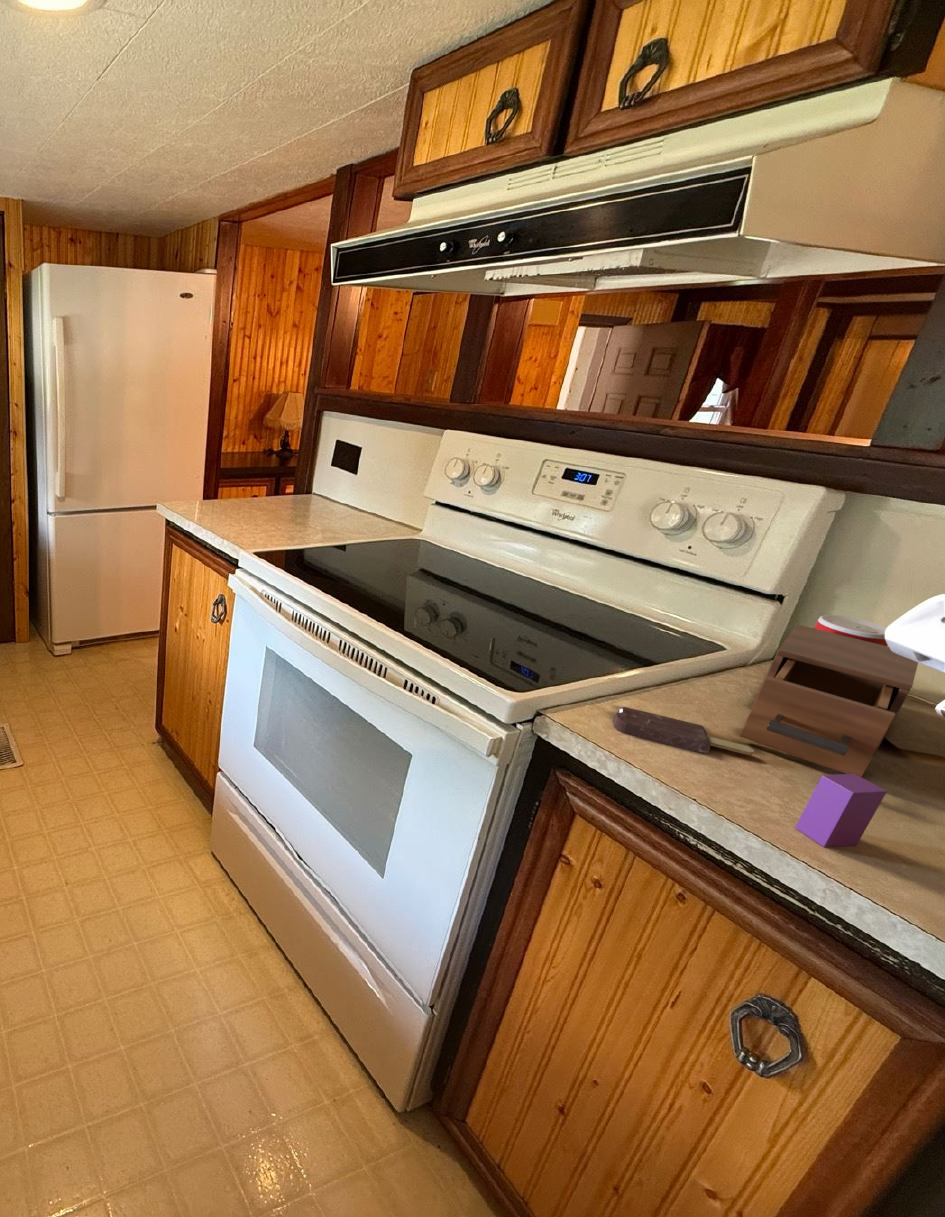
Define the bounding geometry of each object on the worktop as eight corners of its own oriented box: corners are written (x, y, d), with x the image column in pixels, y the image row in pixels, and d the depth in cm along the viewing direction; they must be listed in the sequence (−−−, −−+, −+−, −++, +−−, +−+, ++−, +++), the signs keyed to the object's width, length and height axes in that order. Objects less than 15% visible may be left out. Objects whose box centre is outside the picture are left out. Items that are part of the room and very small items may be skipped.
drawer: (855, 793, 76) (891, 728, 73) (731, 748, 84) (757, 688, 81) (873, 739, 88) (904, 681, 84) (761, 704, 96) (786, 650, 93)
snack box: (826, 826, 72) (854, 773, 69) (856, 845, 69) (887, 791, 67) (794, 827, 72) (821, 774, 69) (824, 847, 69) (853, 792, 66)
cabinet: (873, 756, 85) (912, 685, 81) (748, 715, 94) (778, 649, 90) (884, 719, 95) (920, 654, 91) (770, 685, 104) (797, 624, 100)
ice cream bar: (746, 747, 86) (610, 713, 93) (750, 737, 86) (614, 703, 93) (755, 767, 82) (613, 730, 89) (761, 756, 82) (616, 720, 89)
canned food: (858, 705, 98) (893, 639, 94) (787, 685, 104) (817, 621, 100) (861, 690, 103) (894, 626, 99) (793, 671, 109) (821, 610, 105)
